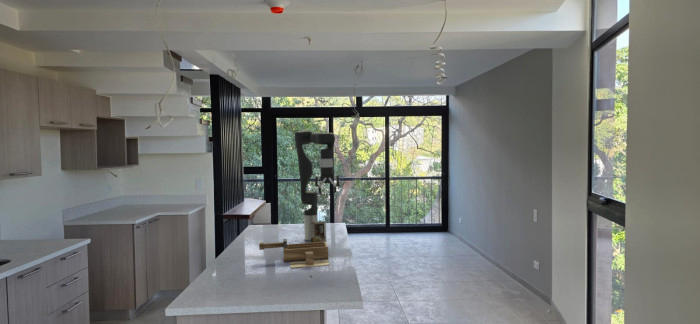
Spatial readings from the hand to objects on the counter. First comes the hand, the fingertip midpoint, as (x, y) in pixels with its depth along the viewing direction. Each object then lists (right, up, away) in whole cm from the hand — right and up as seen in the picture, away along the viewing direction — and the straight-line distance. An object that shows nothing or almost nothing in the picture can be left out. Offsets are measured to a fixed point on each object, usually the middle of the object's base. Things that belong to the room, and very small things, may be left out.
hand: (327, 193), depth 232 cm
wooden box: (-12, -37, -6) cm, 39 cm away
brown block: (-31, -31, -10) cm, 45 cm away
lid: (-9, -38, -19) cm, 43 cm away
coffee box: (-6, -36, +14) cm, 39 cm away
